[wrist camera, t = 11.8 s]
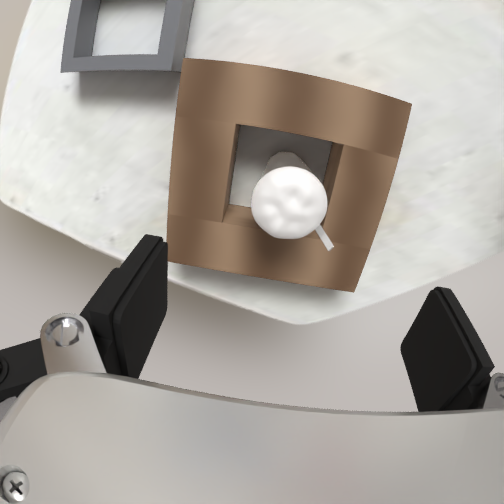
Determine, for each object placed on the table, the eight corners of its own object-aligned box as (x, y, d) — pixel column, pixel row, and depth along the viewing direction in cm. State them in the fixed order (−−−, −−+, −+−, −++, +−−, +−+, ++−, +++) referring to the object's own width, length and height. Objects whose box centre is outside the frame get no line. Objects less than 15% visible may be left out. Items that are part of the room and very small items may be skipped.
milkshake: (295, 211, 28) (304, 275, 19) (246, 173, 27) (231, 221, 18) (331, 173, 26) (359, 222, 17) (281, 131, 25) (285, 158, 16)
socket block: (393, 100, 22) (411, 104, 19) (345, 267, 30) (354, 292, 27) (196, 61, 22) (183, 58, 19) (178, 239, 30) (166, 261, 26)
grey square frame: (201, -35, 18) (193, -47, 15) (182, 71, 23) (171, 70, 20) (95, -26, 18) (79, -34, 15) (79, 71, 22) (60, 72, 20)
